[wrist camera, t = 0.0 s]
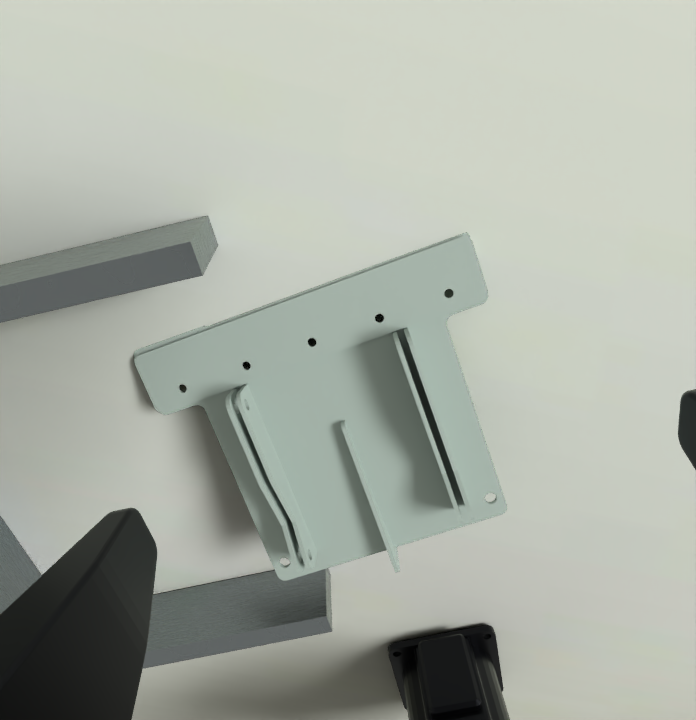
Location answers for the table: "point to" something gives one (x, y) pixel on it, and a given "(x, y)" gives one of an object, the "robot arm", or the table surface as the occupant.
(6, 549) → the rail dock
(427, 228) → the table surface
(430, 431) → the metal bracket
